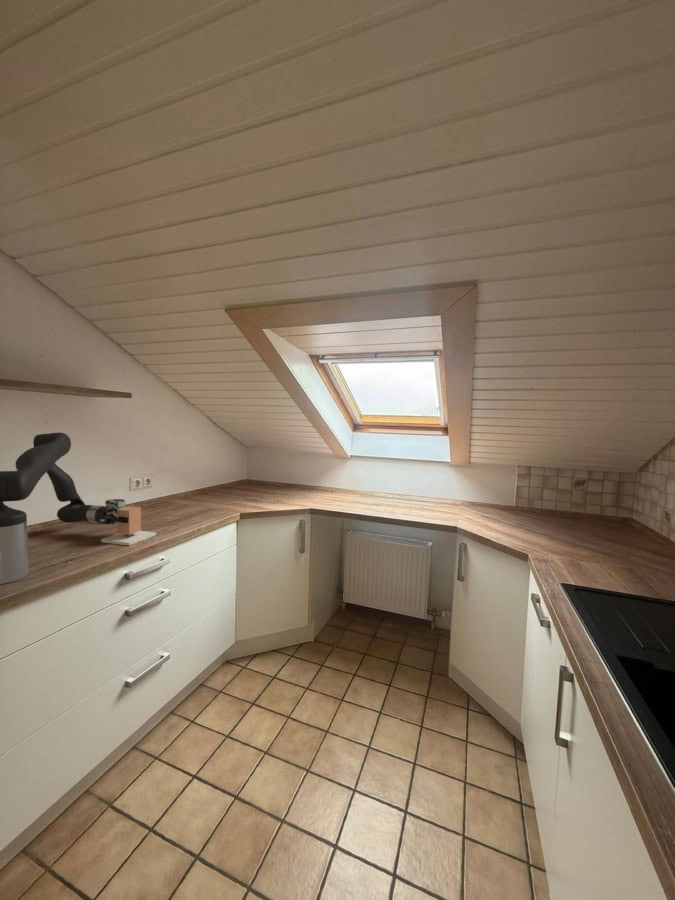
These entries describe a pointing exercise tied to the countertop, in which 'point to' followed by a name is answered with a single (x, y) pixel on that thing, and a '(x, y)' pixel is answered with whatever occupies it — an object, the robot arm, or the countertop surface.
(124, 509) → the salmon orange block
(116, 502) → the food container
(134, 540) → the post
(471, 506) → the countertop surface
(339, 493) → the countertop surface
